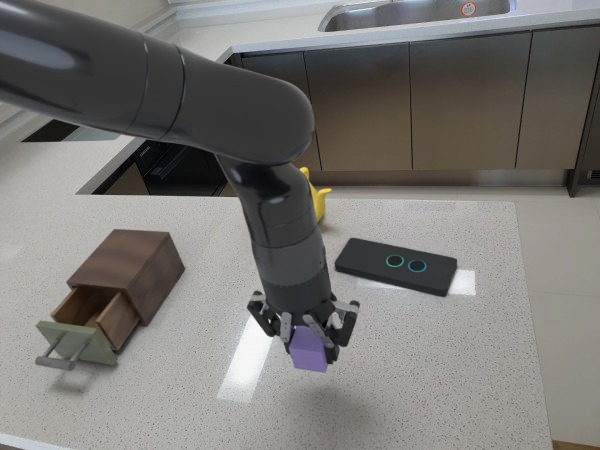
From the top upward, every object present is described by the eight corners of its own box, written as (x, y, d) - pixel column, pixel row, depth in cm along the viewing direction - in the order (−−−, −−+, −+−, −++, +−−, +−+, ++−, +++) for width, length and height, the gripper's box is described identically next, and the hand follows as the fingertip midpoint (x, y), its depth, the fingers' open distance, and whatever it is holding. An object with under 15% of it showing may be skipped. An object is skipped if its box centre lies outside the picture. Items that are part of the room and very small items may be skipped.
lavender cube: (325, 373, 58) (321, 352, 55) (294, 368, 59) (288, 348, 57) (333, 346, 61) (329, 325, 58) (303, 342, 62) (298, 321, 60)
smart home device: (445, 291, 73) (332, 264, 83) (445, 298, 74) (333, 271, 84) (458, 257, 78) (350, 235, 88) (458, 264, 80) (351, 242, 89)
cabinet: (147, 326, 81) (125, 288, 75) (90, 318, 85) (65, 282, 79) (185, 268, 91) (169, 231, 86) (133, 264, 96) (114, 228, 90)
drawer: (96, 391, 71) (72, 360, 66) (39, 380, 74) (13, 350, 70) (156, 302, 84) (139, 271, 79) (105, 296, 88) (87, 267, 83)
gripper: (217, 277, 49) (254, 372, 59) (348, 289, 45) (363, 390, 55) (243, 233, 55) (272, 327, 65) (362, 240, 50) (373, 339, 60)
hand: (314, 355), depth 60 cm, fingers closed on lavender cube, 4 cm apart
